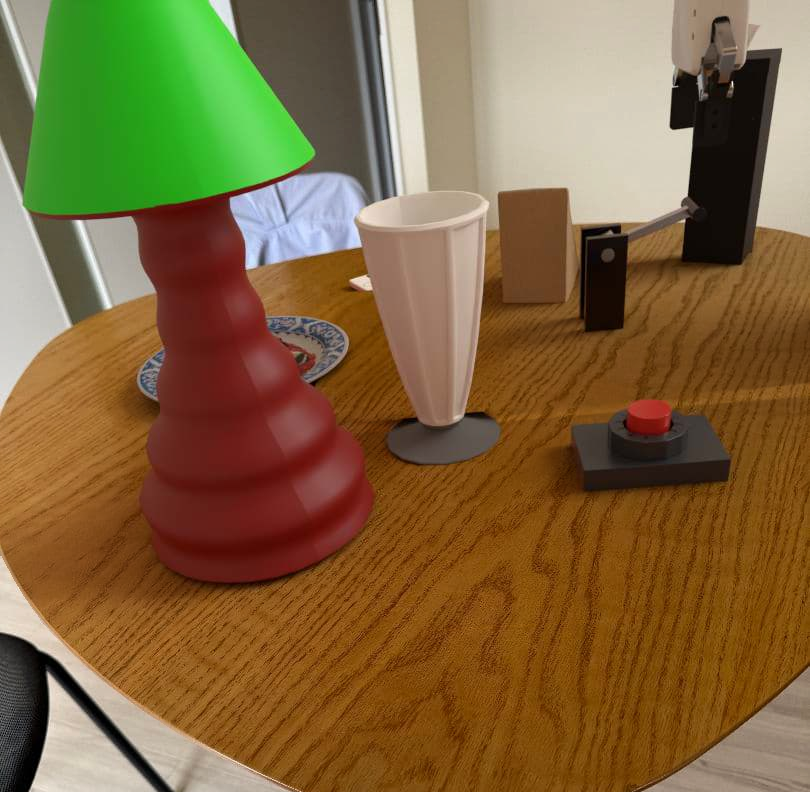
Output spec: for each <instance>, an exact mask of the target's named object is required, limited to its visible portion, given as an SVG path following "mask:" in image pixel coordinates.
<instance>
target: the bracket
mask: <svg viewBox="0 0 810 792" xmlns="http://www.w3.org/2000/svg"><path fill="white" fill-rule="evenodd" d="M609 230H611V231H612V232H613V234H611V235H602V236H597V235H600V234H602V233H604V232H606V231H609ZM579 234H580V235H579V236H580V238H579V239H580V240H579V244H580V245H579V294H578V295H579V297H578V298H579V299H578V300H579V301H578V318H579V320H583V331H584V333H592V332H601V331H603V332H604V331H613V330H623V329H625V328H624V327H625V311H626V310H625V307H626V288H627V273H628V251H629V243H628V234H627V233H624V232H622V224H621V223H620V222H616V223H607V224H597V225H589V226H580V233H579Z"/></svg>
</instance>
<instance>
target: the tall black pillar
mask: <svg viewBox="0 0 810 792" xmlns="http://www.w3.org/2000/svg"><path fill="white" fill-rule="evenodd" d="M761 26H762V25H761V24H755V23H749V24H748V38H747V51H746V60H745V63H744V65H743V66H742V67H741V68H740V69H739V70H734V71H735V72H734V73H735V77H734V78H733V80H732V81H733V95H732V101H731V111H730V120H729V130H728V139H727V142H726V143H725V144H721V145H713V146H705V147H694V146H693V145H692V144H691V153H690V165H689V173H688V174H689V175H688V187H687V195H686V197H688V196H690V197H692V198H693V199H694V200H695V201H696V202H697V203H699V204H700V205H701V206H702V207H703V208H704V209H705V210H706V217H705V218H704V219H703V220H702V221H700V222H696V221H694V220H693V219H692V218H691V217H689V218H686V219H684V229H683V240H682V251H681V263H694V264H711V265H713V264H714V265H715V264H716V265H731V266H732V265H733V266H735V265H736V266H742V264H743V263H744V262H745V260H746V258H747V257H748V255H749V254H753V250H754V243H755V235H756V229H757V221H758V215H759V208H760V201H761V195H762V187H763V181H764V173H765V166H766V160H767V152H768V146H769V139H770V132H771V126H772V118H773V112H774V106H775V98H776V91H777V86H778V85H777V84H778V77H779V70H780V64H781V61H782V53H783V47H779V48H778V47H777V48H776V47H775V48H764V49H749V47H750V45H751V43H752V42H753V39H754V38H755V36H756V34H757V33H758V31H759V29H760V28H761ZM748 49H749V50H748ZM710 77H711V76H708V77H707V81H708V83H709V80H710Z"/></svg>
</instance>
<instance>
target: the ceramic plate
mask: <svg viewBox="0 0 810 792" xmlns="http://www.w3.org/2000/svg"><path fill="white" fill-rule="evenodd" d="M266 322H267V326H268V328H269V331H270V332H271V333H272V334H273V335H274V336H275V337H276V338H277V339H278V340H279V341H280V342H282V343H283V344H284V345H285V346H286V347H287V348H288V349H289V350H290V352H291V353H292V354H293V356H294V358H295V360H296V363H297V366H298V370H299V374H300V378H301V379H302V380H304V381H305V382H307V383H309V384H311V383H312V382H314V381H316V380H318V379H319V378H322V377H323V376H325V375H327V374H328V373H330V371H331V370H333V369H334V368H335V367H337V366H338V365H339V364H340V362H341V361H342V360H344V358H345V357H346V355H347V352H348V350H349V346H350V340H349V337H348V334H347V333H346V332H345V331H344V330H343V329H342V328H341V327H339V326H338V325H336V324H334V323H331V322H329V321H327V320H324V319H319V318H314V317H309V316H298V315H297V316H296V315H276V316H275V315H273V316H266ZM164 356H165V351H164V347H162V348H161V349H160V350H158V351H156V352H155V353H154V354H153V355H151V356H149V358H148V359H147V360H145V362H143V364H142V366H141V367H140V368H139V370H138V373H137V376H136V383H137V387H138V388H139V390H140V392H141V393H142V394H143V395H144V396H146V397H147V398H149V399H150V400H153V401H155V402H158V403H159V401H158V398H157V393H156V381H157V377H158V373H159V371H160V368H161V365H162V363H163V360H164Z"/></svg>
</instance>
